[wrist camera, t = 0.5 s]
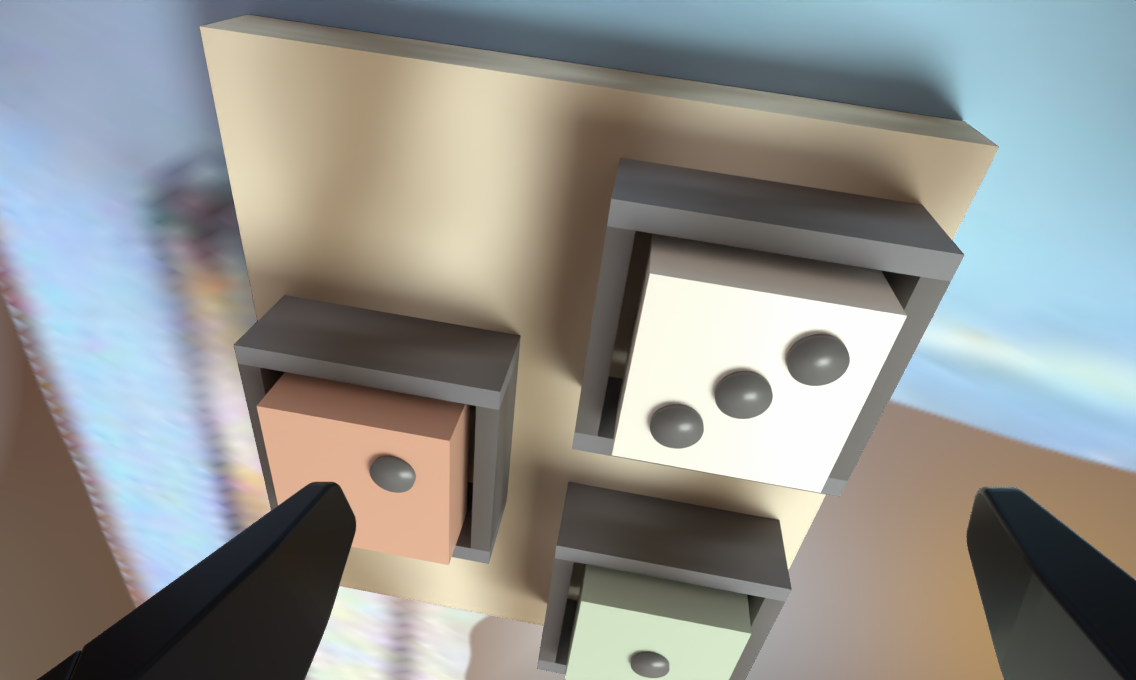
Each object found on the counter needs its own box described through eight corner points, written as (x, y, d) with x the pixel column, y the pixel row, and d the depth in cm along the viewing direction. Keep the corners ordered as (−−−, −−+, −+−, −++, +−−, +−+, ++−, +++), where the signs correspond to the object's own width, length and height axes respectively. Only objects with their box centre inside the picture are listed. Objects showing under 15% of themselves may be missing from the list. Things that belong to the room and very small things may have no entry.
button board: (964, 121, 15) (1058, 190, 12) (737, 618, 27) (747, 732, 24) (247, 14, 16) (118, 46, 13) (329, 540, 28) (276, 638, 24)
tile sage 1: (745, 574, 20) (751, 638, 18) (708, 659, 23) (710, 721, 21) (588, 545, 21) (580, 605, 19) (571, 632, 23) (562, 692, 22)
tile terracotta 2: (470, 391, 18) (447, 445, 16) (467, 512, 20) (447, 569, 19) (295, 360, 18) (253, 409, 16) (315, 484, 21) (281, 537, 19)
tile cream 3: (879, 268, 14) (909, 320, 12) (806, 435, 17) (821, 497, 15) (653, 231, 14) (649, 277, 12) (617, 402, 17) (611, 459, 15)
